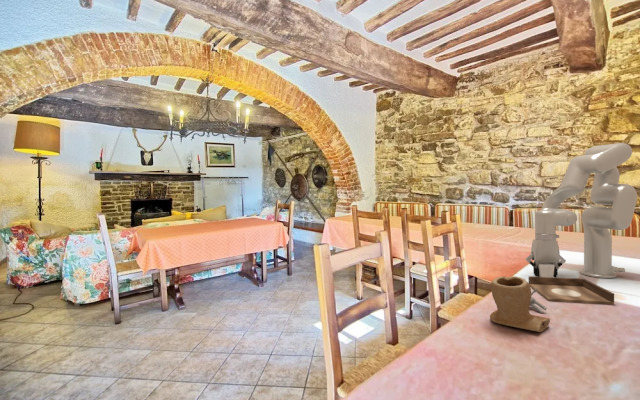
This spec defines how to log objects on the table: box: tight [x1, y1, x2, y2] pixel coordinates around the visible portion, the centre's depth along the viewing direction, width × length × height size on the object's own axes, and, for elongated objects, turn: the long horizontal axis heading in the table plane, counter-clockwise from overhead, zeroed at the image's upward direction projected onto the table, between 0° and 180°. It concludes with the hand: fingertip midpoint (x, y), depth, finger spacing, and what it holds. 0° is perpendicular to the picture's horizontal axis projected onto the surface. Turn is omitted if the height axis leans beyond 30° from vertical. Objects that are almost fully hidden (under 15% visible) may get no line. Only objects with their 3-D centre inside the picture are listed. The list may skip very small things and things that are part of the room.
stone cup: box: [489, 275, 551, 333], centre depth 93 cm, size 15×12×15 cm
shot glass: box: [538, 262, 555, 277], centre depth 138 cm, size 7×7×7 cm
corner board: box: [528, 276, 615, 306], centre depth 118 cm, size 20×18×4 cm
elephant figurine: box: [529, 289, 547, 314], centre depth 105 cm, size 10×6×9 cm
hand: (545, 276), depth 138 cm, fingers closed on shot glass, 6 cm apart
